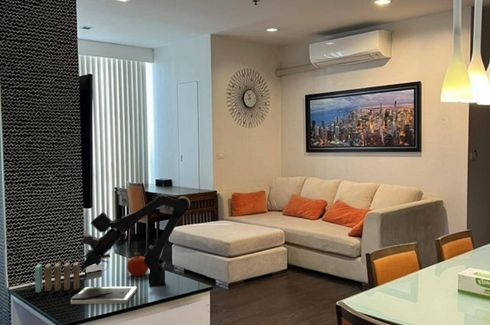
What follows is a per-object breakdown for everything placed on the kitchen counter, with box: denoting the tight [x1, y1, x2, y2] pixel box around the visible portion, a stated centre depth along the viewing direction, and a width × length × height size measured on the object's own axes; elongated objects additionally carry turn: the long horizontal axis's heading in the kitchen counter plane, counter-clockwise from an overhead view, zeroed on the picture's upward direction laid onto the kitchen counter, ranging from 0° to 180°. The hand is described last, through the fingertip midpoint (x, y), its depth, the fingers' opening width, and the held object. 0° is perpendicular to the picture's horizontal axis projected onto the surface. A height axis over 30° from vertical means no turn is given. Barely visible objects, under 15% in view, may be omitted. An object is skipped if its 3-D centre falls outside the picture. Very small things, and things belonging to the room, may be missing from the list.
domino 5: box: [72, 261, 81, 291], centre depth 192 cm, size 2×5×10 cm, turn 12°
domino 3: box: [53, 262, 62, 292], centre depth 191 cm, size 2×5×10 cm, turn 12°
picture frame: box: [70, 286, 138, 305], centre depth 181 cm, size 16×3×21 cm
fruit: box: [126, 251, 149, 277], centre depth 210 cm, size 10×10×10 cm
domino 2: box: [44, 263, 53, 293], centre depth 190 cm, size 2×5×10 cm, turn 12°
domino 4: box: [63, 262, 71, 291], centre depth 191 cm, size 2×5×10 cm, turn 12°
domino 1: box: [34, 263, 43, 293], centre depth 189 cm, size 2×5×10 cm, turn 12°
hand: (81, 268), depth 193 cm, fingers closed
